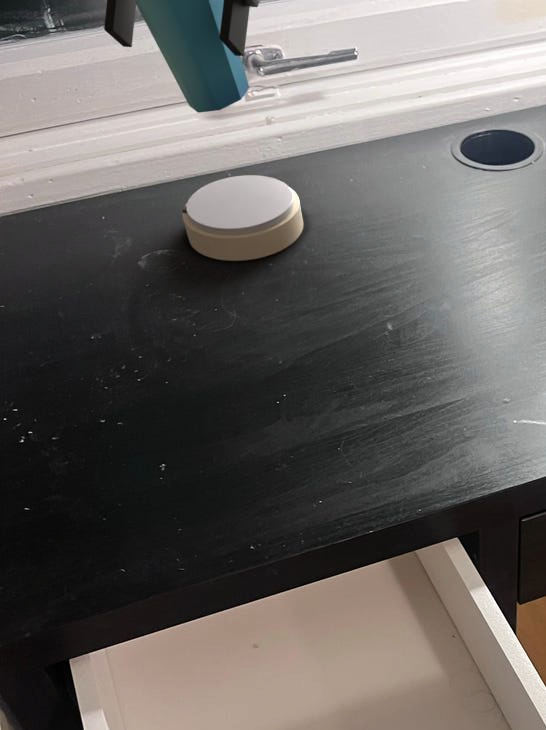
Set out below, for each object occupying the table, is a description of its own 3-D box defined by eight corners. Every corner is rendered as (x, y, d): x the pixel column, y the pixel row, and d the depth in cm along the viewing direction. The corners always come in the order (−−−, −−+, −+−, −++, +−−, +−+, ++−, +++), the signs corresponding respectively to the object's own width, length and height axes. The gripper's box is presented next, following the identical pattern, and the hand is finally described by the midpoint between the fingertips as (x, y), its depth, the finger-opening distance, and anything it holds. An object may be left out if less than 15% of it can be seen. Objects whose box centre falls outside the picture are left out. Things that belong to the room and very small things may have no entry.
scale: (169, 255, 93) (160, 224, 91) (217, 197, 99) (209, 167, 97) (278, 268, 91) (272, 237, 89) (319, 208, 98) (315, 178, 95)
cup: (129, 144, 81) (26, -65, 70) (132, 104, 86) (37, -97, 75) (290, 94, 81) (214, -126, 69) (285, 57, 86) (213, -154, 74)
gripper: (362, -233, 76) (322, 76, 79) (107, -239, 80) (78, 55, 83) (328, -315, 69) (285, 28, 72) (49, -318, 73) (19, 8, 75)
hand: (174, 42), depth 77 cm, fingers closed on cup, 9 cm apart
